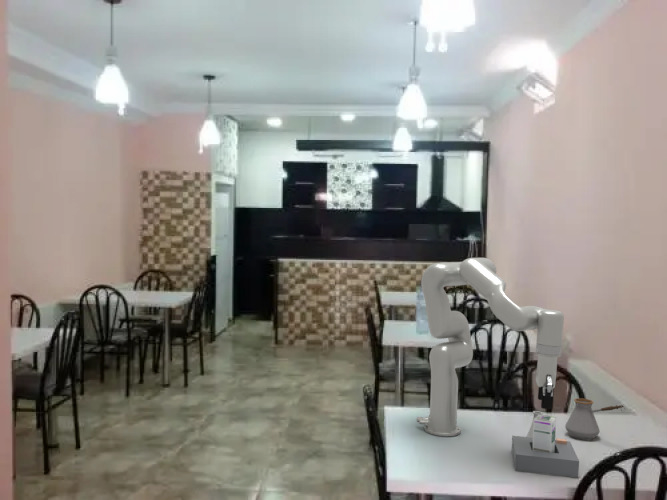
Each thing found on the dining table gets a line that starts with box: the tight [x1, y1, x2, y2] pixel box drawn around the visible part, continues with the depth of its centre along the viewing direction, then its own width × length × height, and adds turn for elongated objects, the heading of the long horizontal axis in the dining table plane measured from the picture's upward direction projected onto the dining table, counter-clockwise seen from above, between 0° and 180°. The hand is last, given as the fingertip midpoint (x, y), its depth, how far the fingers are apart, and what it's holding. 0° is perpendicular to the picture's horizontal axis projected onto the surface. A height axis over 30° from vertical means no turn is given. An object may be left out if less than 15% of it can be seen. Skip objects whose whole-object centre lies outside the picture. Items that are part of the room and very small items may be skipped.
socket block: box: [511, 435, 580, 479], centre depth 200 cm, size 18×18×6 cm
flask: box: [525, 410, 544, 438], centre depth 222 cm, size 7×7×10 cm
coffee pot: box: [565, 397, 626, 441], centre depth 224 cm, size 21×12×15 cm, turn 32°
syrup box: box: [532, 414, 557, 453], centre depth 200 cm, size 6×6×14 cm
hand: (544, 404), depth 200 cm, fingers open, 9 cm apart
